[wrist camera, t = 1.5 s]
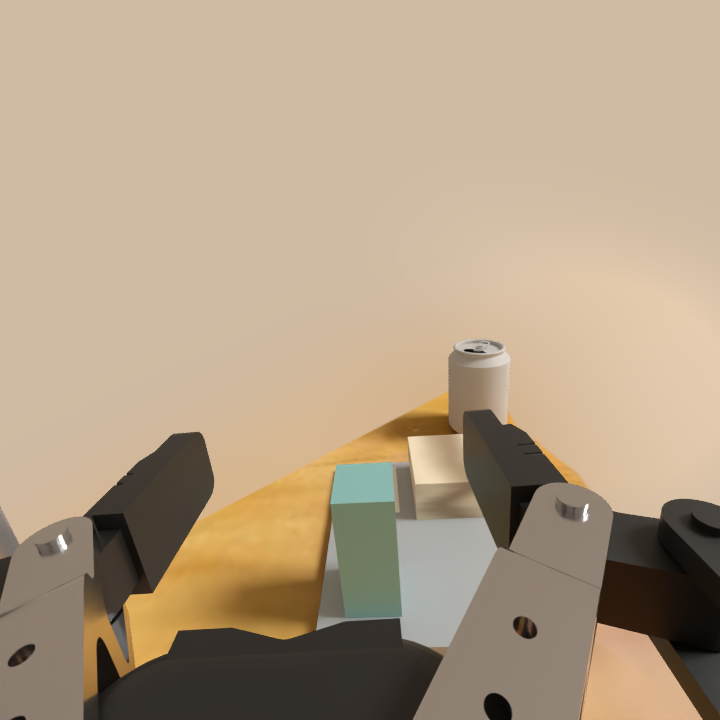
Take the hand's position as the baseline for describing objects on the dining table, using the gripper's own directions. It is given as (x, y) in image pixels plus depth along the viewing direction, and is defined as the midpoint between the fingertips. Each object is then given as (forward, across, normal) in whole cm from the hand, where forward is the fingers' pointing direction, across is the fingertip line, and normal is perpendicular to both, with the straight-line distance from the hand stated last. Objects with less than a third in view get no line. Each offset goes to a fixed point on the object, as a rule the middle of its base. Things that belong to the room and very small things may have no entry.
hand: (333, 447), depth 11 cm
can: (+35, -14, +20) cm, 43 cm away
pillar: (+11, 0, +19) cm, 22 cm away
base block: (+22, -8, +19) cm, 30 cm away
